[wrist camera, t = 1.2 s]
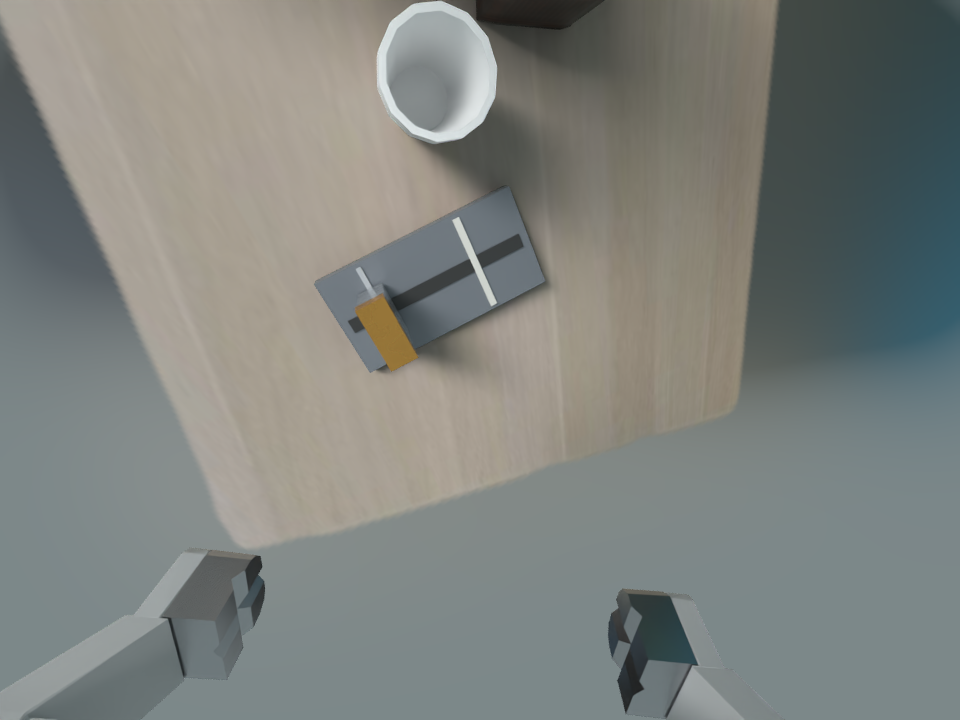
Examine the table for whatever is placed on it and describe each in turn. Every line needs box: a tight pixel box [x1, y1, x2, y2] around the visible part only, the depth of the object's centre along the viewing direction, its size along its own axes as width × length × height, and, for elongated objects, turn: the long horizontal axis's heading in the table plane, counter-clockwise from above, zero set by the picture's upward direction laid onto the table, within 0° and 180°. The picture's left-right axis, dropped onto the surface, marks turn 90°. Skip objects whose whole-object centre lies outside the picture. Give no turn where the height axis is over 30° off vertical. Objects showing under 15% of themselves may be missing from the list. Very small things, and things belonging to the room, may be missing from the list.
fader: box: [355, 283, 418, 372], centre depth 47 cm, size 3×7×9 cm, turn 24°
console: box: [314, 186, 545, 373], centre depth 53 cm, size 24×12×2 cm, turn 115°
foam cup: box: [377, 1, 497, 144], centre depth 41 cm, size 10×9×13 cm
